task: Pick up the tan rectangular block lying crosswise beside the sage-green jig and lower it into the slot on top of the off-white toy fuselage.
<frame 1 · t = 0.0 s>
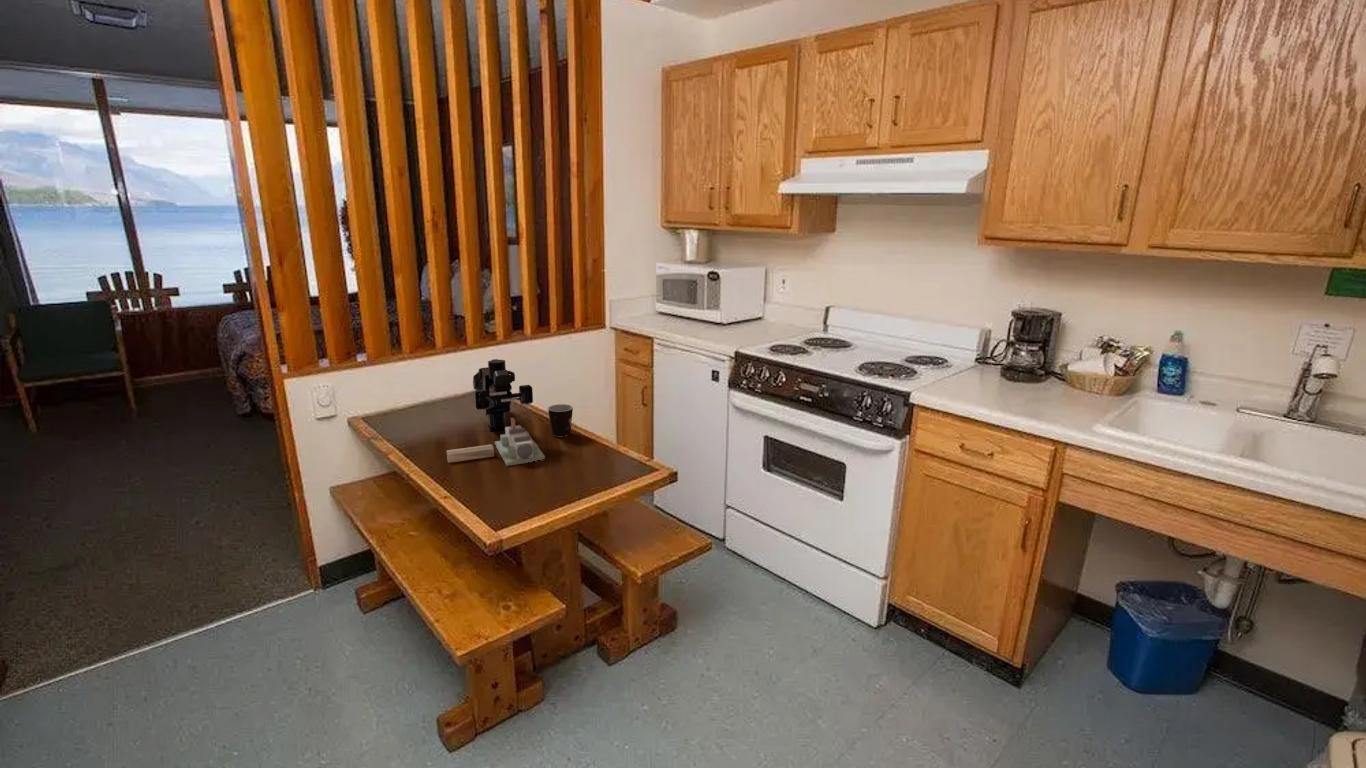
hand: (509, 403, 197), 17 cm above the table, tool horizontal, fingers open, 9 cm apart
jig: (519, 452, 200), on the table
tan rectangular block: (470, 458, 196), on the table
coffee mug: (558, 436, 216), on the table
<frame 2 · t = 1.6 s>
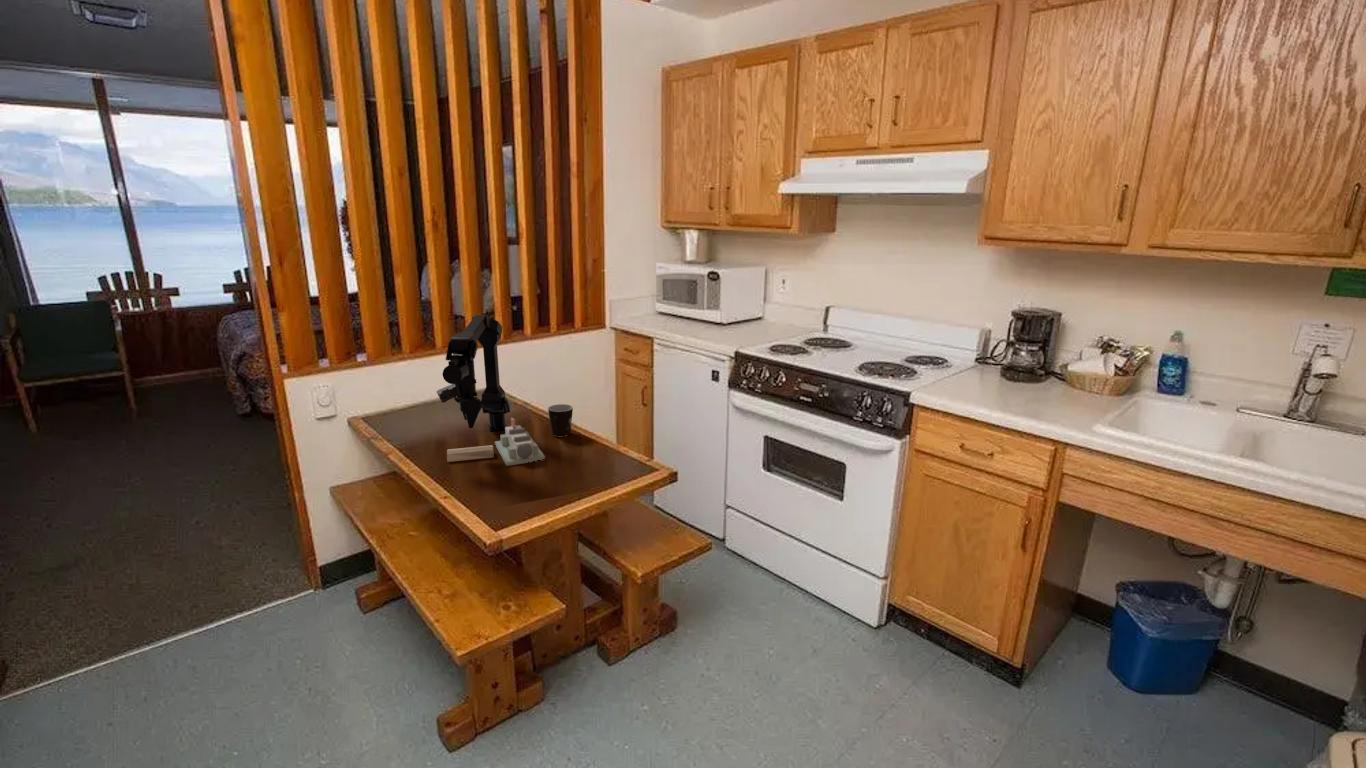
hand: (468, 423, 193), 11 cm above the table, tool pointing down, fingers open, 9 cm apart
nothing on the table moved.
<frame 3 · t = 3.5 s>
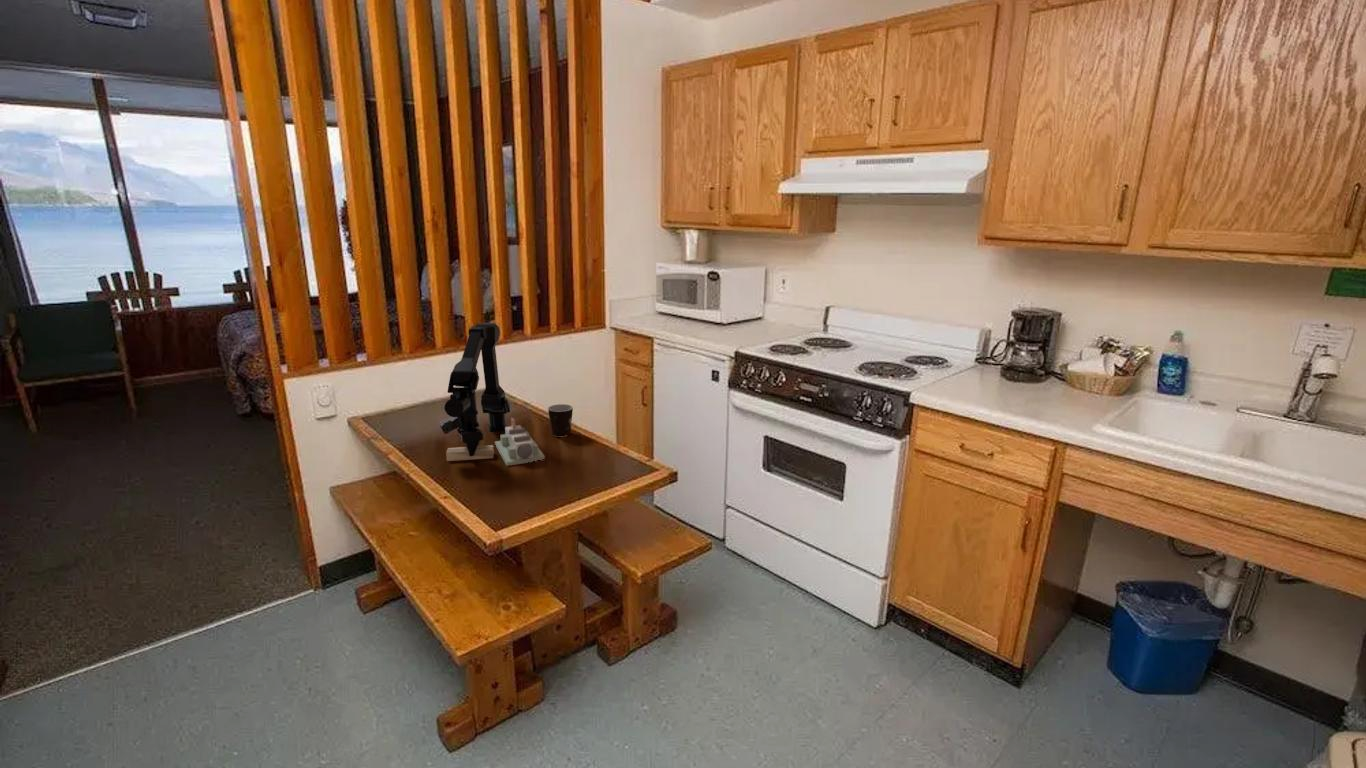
hand: (470, 453, 195), 1 cm above the table, tool pointing down, fingers closed on tan rectangular block, 4 cm apart
tan rectangular block: (470, 457, 196), on the table, touching gripper
everything else where it was.
when the fingers open (9 cm above the table, at t = 8.5 s): tan rectangular block drops 1 cm, resting on jig.
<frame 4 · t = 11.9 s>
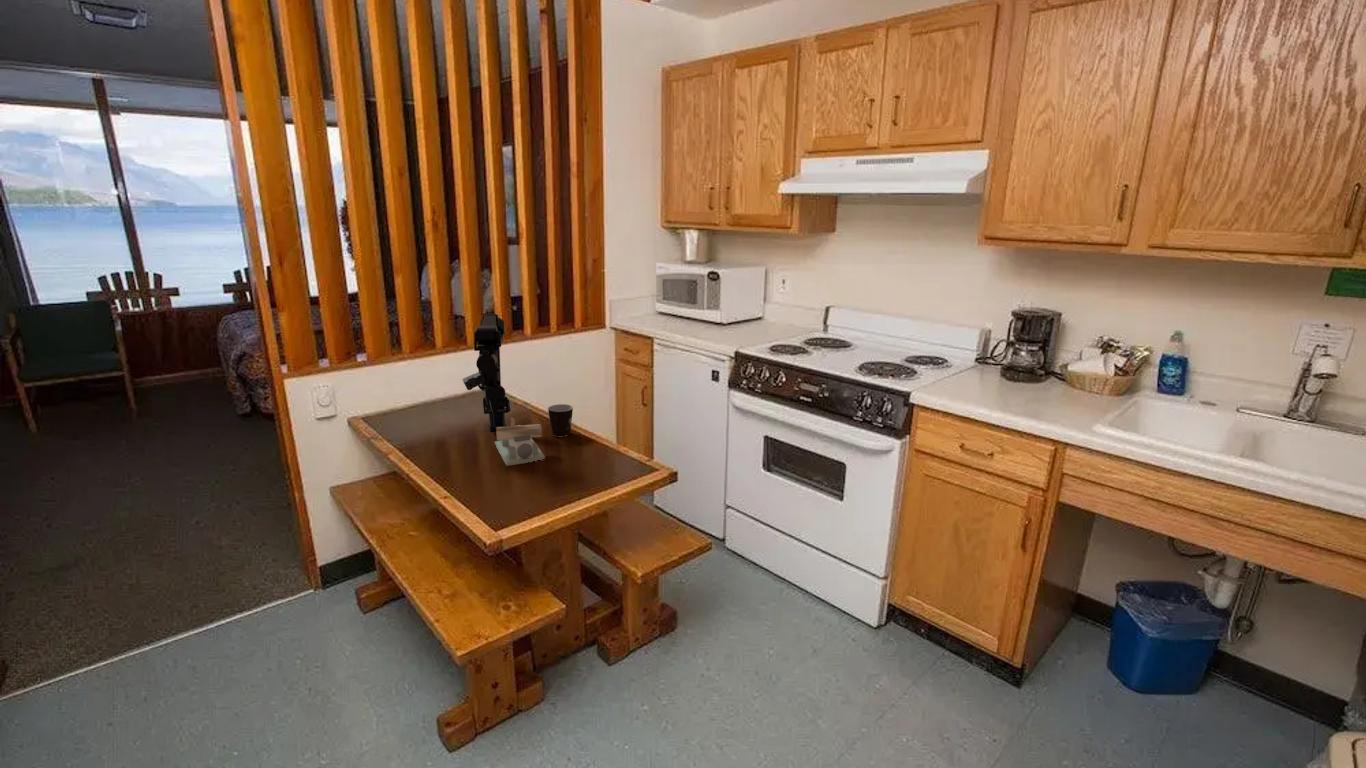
hand: (492, 410, 204), 12 cm above the table, tool pointing down, fingers open, 9 cm apart
tan rectangular block: (519, 436, 197), point 6 cm above the table, touching jig
everything else where it was.
at the end: tan rectangular block 0.1 cm from the target spot on the jig, point 6.2 cm above the jig's base; tan rectangular block tilted 0°; the gripper is holding nothing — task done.
